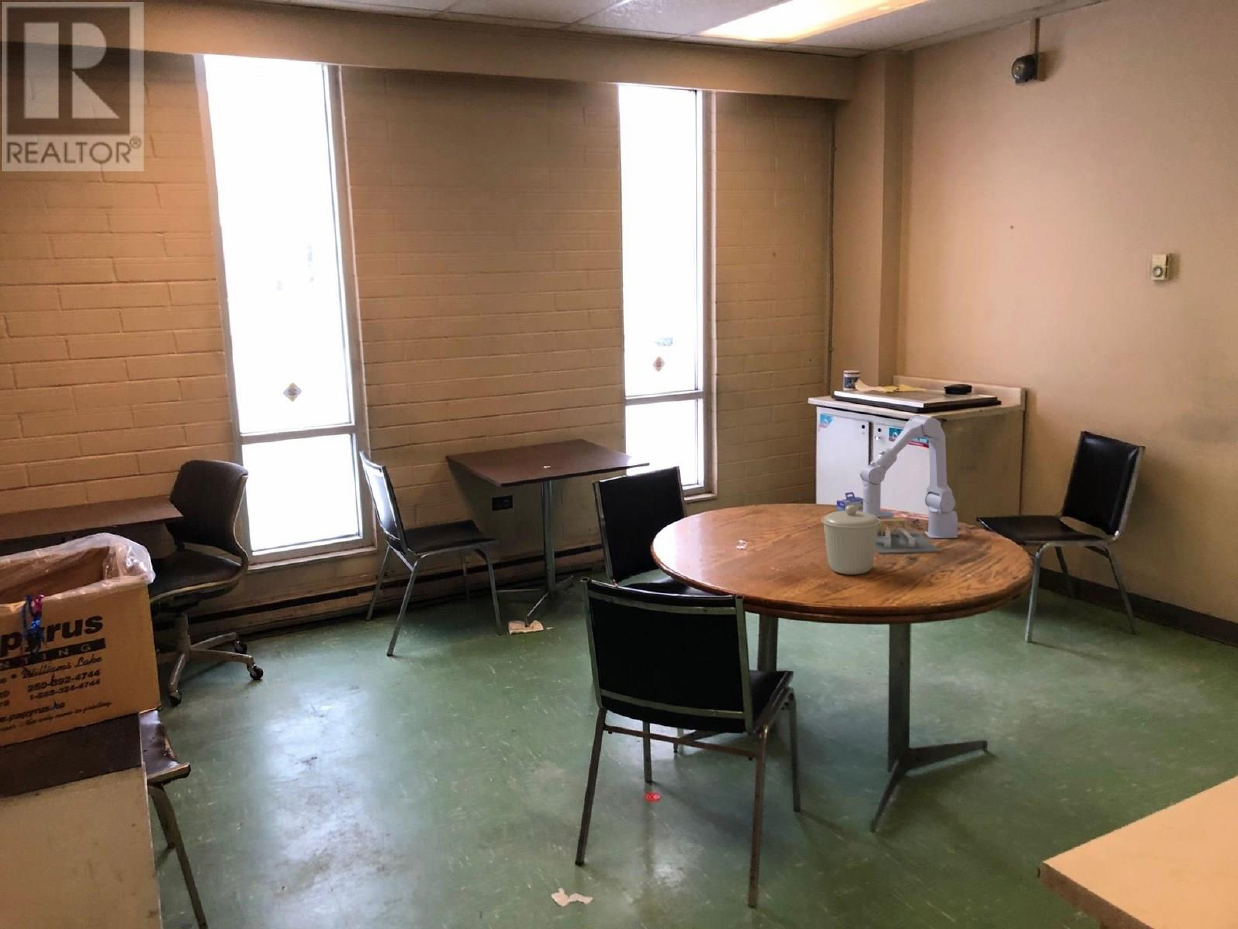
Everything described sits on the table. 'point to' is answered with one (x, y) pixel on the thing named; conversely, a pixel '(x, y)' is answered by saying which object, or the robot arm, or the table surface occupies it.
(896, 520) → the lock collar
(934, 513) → the robot arm
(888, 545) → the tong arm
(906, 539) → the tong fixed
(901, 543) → the mat
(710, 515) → the table surface
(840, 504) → the ink cartridge box
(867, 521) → the canister
